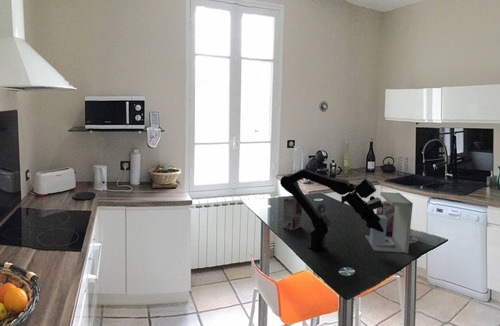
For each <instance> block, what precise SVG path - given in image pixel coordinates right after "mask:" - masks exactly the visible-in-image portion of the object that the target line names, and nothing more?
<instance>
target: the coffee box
mask: <svg viewBox="0 0 500 326" xmlns="http://www.w3.org/2000/svg"><path fill="white" fill-rule="evenodd" d="M302 213H303V208H302V207H301V205H300V204H299V203H298V201H297V200H296V199H295V198H294V196H290V197H287V198H285V199H283V214H282V215H283V218H282V228H283V229H284V228H286V229H285V230H288V229H289V231H291V230H293V231H295V230H297V229H298V228H301V227H302Z"/></svg>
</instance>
